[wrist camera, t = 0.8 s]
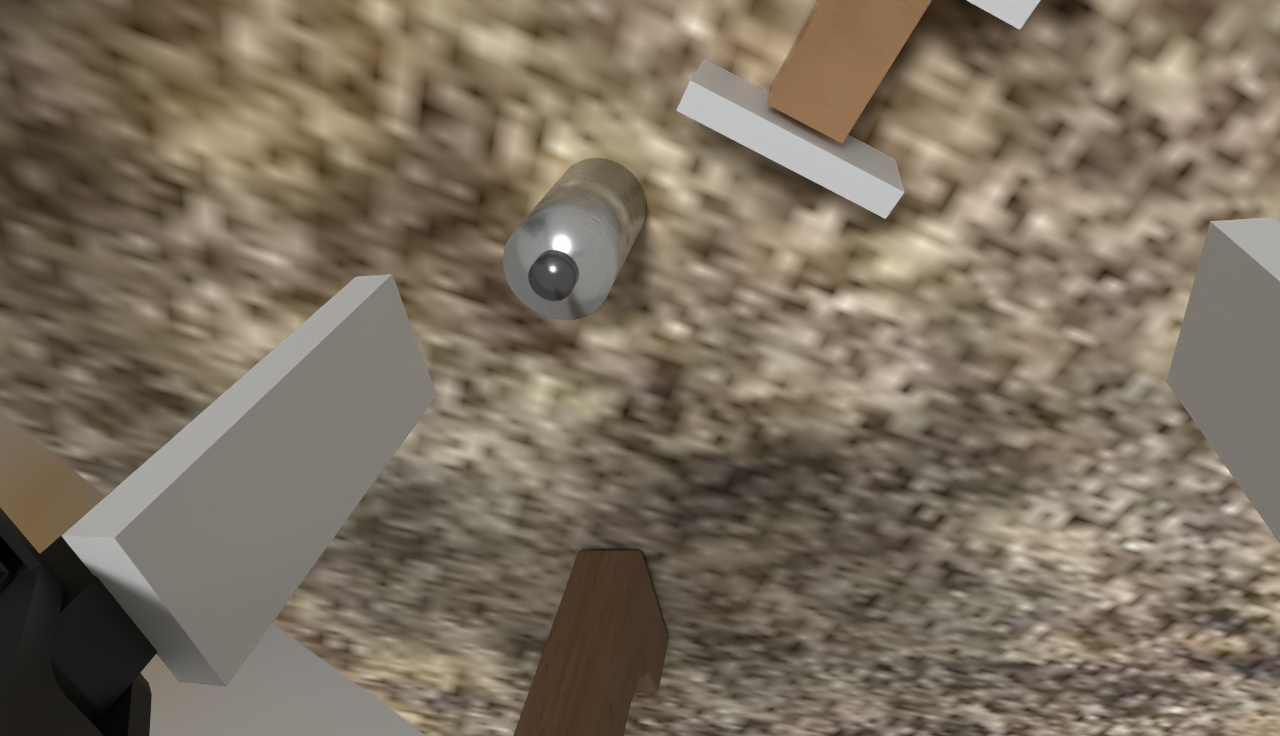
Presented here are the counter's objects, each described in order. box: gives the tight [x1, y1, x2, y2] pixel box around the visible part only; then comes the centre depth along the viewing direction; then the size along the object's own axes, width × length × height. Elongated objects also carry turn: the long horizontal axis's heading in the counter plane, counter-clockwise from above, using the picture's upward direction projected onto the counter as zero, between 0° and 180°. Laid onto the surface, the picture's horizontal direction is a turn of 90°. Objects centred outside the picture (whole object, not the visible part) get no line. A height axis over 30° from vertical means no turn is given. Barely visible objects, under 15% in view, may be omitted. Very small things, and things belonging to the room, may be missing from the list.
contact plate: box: [767, 0, 932, 143], centre depth 27 cm, size 3×5×2 cm, turn 156°
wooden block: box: [514, 550, 668, 736], centre depth 42 cm, size 9×4×18 cm, turn 13°
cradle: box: [677, 0, 1040, 219], centre depth 27 cm, size 9×9×4 cm
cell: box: [503, 158, 647, 320], centre depth 31 cm, size 4×4×8 cm
